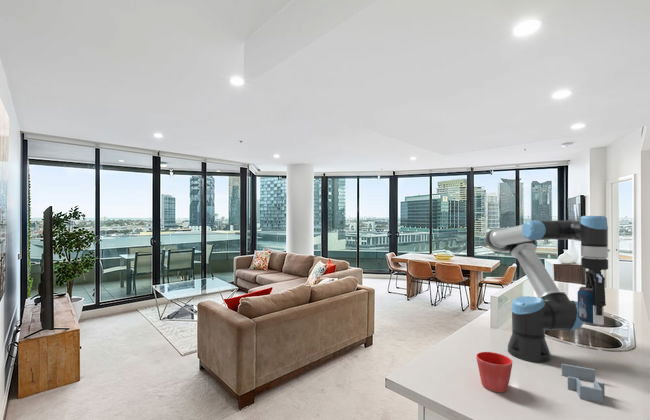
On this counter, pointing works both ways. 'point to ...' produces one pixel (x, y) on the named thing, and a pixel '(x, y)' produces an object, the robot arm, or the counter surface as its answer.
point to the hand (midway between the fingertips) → (595, 320)
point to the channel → (574, 384)
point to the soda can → (585, 304)
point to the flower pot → (494, 370)
